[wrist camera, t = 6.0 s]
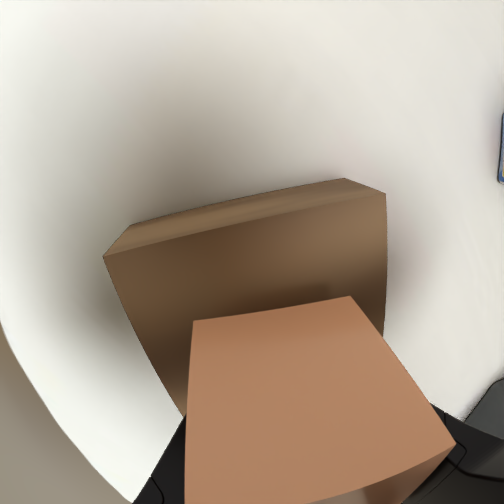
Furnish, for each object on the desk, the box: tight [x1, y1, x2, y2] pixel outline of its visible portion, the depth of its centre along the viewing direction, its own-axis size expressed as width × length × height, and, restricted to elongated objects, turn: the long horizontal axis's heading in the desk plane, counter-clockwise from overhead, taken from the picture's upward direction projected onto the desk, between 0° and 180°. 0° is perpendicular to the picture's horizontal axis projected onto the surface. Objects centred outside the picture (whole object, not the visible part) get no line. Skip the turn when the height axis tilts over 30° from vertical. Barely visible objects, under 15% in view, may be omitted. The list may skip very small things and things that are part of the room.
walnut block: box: [103, 178, 387, 418], centre depth 13 cm, size 10×10×4 cm
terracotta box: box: [185, 296, 456, 504], centre depth 7 cm, size 5×5×6 cm
